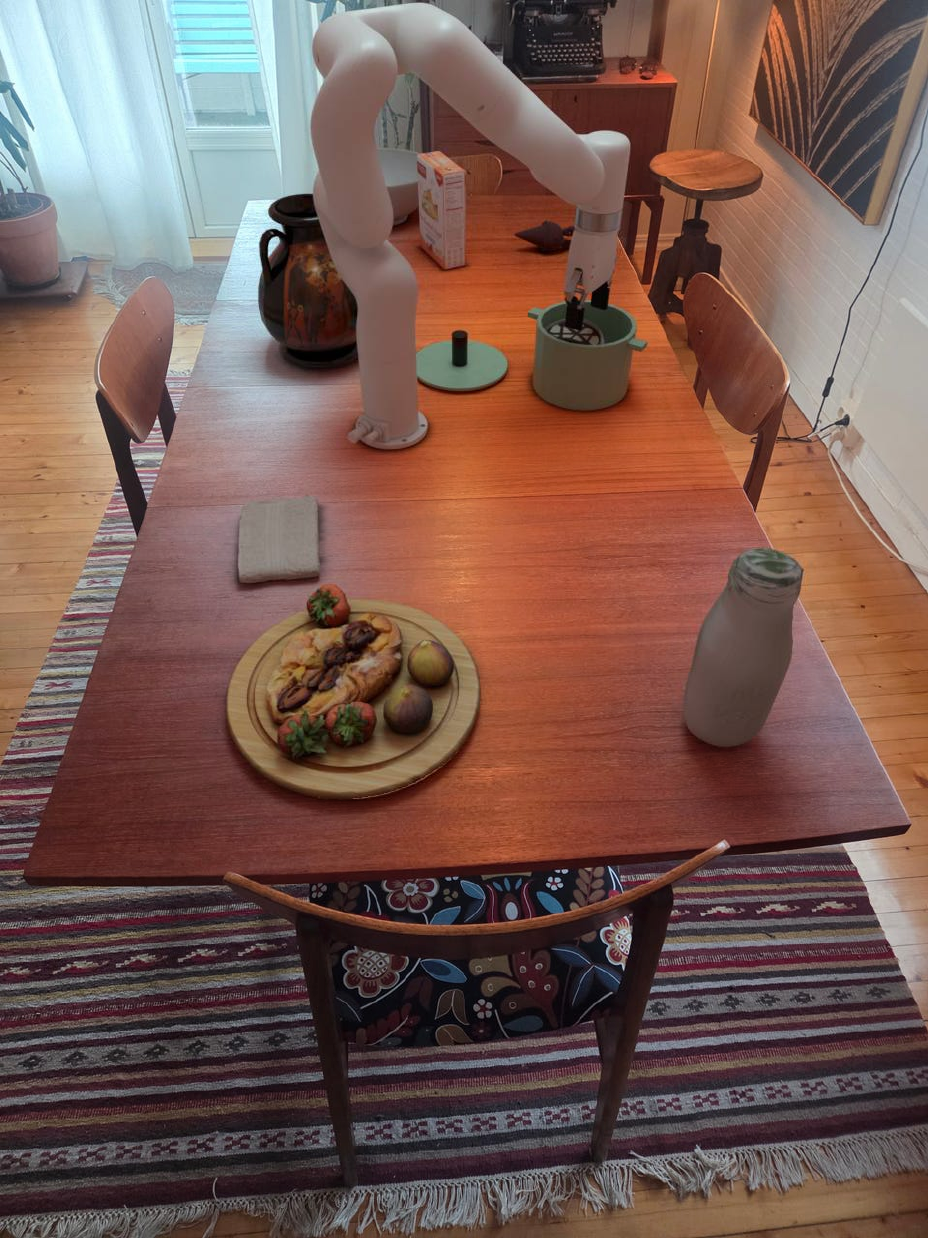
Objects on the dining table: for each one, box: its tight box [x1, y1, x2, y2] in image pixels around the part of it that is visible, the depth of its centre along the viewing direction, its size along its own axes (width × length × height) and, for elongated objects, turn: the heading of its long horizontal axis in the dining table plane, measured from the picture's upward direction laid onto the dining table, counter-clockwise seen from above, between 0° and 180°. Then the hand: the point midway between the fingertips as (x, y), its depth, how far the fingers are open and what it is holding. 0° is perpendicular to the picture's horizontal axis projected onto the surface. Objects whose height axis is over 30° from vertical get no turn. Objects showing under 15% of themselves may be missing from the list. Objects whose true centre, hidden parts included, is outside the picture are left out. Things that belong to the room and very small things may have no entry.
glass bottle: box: [682, 547, 805, 748], centre depth 99 cm, size 10×10×28 cm
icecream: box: [514, 220, 575, 254], centre depth 206 cm, size 7×7×15 cm
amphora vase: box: [257, 193, 358, 371], centre depth 164 cm, size 22×22×28 cm
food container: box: [545, 319, 605, 345], centre depth 162 cm, size 12×6×10 cm, turn 57°
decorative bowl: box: [377, 147, 421, 226], centre depth 217 cm, size 27×27×12 cm
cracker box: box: [417, 150, 467, 271], centre depth 198 cm, size 14×6×21 cm, turn 25°
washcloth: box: [237, 495, 322, 584], centre depth 132 cm, size 12×18×3 cm, turn 9°
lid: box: [416, 329, 509, 392], centre depth 167 cm, size 18×18×7 cm
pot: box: [527, 299, 648, 411], centre depth 161 cm, size 18×23×12 cm
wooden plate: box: [225, 583, 482, 801], centre depth 109 cm, size 32×32×8 cm
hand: (586, 317), depth 156 cm, fingers open, 8 cm apart
